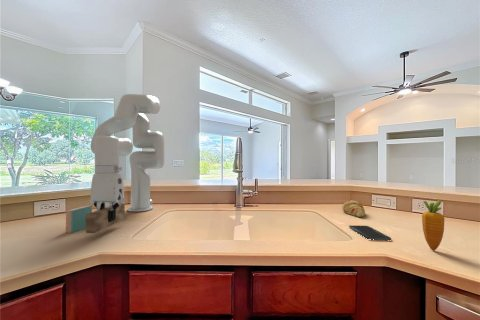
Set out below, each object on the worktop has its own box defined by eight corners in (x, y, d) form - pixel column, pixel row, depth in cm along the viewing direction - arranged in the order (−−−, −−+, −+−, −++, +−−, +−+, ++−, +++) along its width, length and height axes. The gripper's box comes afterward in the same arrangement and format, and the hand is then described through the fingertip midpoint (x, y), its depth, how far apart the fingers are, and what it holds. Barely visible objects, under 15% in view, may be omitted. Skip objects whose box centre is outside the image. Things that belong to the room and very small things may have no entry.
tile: (65, 232, 78) (66, 210, 79) (85, 225, 87) (85, 205, 88) (72, 232, 78) (72, 210, 78) (91, 225, 87) (91, 205, 87)
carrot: (417, 247, 66) (417, 198, 67) (432, 247, 67) (432, 198, 67) (433, 254, 61) (433, 201, 62) (449, 254, 62) (449, 201, 62)
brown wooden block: (117, 218, 87) (117, 203, 87) (124, 218, 87) (124, 203, 86) (86, 232, 71) (85, 214, 71) (94, 233, 71) (94, 214, 70)
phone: (369, 238, 72) (348, 225, 87) (369, 241, 72) (348, 228, 87) (393, 238, 72) (368, 225, 87) (393, 242, 72) (368, 228, 87)
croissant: (367, 226, 101) (376, 211, 101) (347, 215, 102) (356, 200, 102) (351, 214, 122) (358, 202, 122) (334, 205, 123) (341, 193, 123)
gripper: (134, 169, 81) (134, 218, 82) (93, 169, 83) (93, 217, 83) (122, 171, 74) (122, 224, 74) (77, 170, 75) (77, 223, 76)
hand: (107, 220), depth 79 cm, fingers closed on brown wooden block, 2 cm apart
